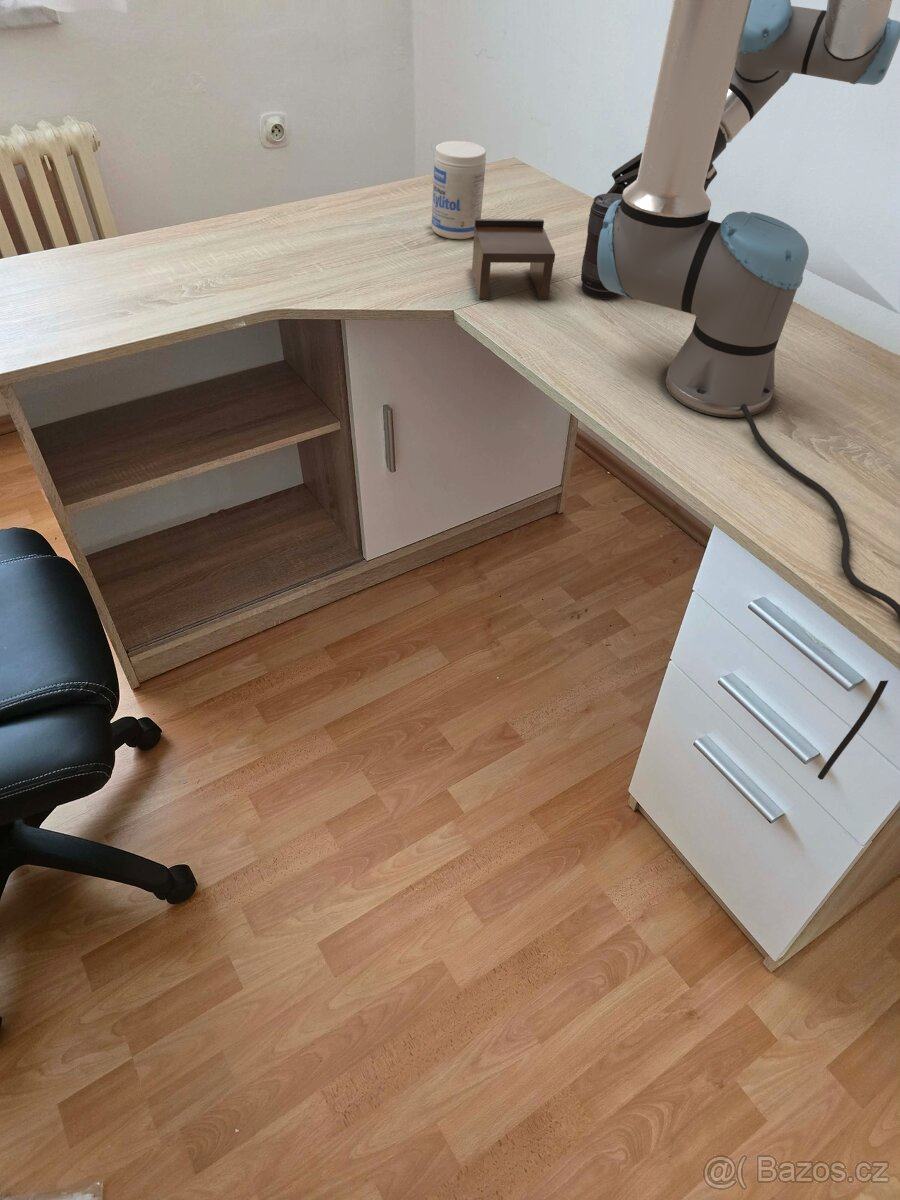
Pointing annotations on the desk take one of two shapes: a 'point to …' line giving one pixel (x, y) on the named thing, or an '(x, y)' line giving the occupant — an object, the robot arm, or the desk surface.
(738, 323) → the robot arm
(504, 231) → the block
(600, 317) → the desk surface
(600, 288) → the camera lens
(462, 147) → the supplement tub
